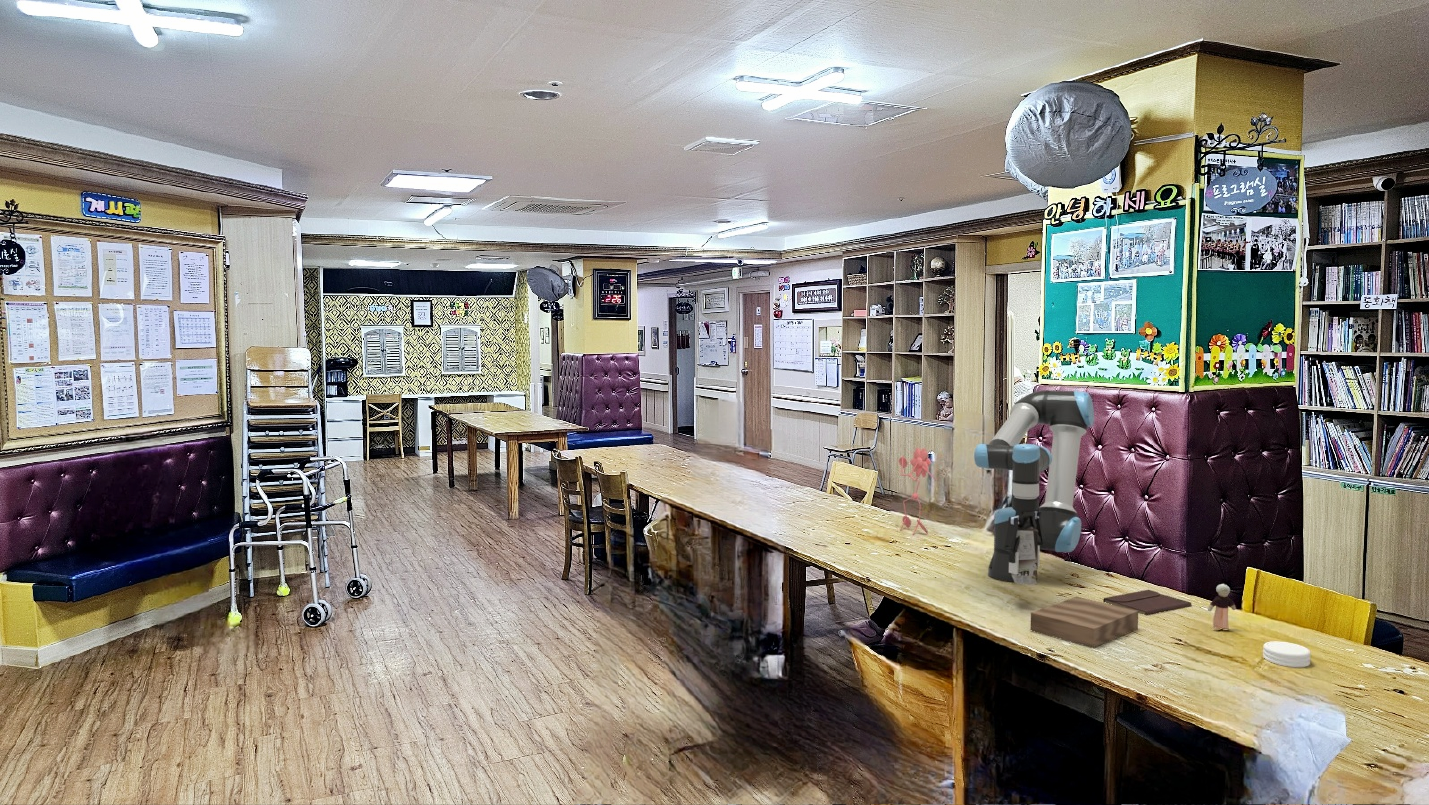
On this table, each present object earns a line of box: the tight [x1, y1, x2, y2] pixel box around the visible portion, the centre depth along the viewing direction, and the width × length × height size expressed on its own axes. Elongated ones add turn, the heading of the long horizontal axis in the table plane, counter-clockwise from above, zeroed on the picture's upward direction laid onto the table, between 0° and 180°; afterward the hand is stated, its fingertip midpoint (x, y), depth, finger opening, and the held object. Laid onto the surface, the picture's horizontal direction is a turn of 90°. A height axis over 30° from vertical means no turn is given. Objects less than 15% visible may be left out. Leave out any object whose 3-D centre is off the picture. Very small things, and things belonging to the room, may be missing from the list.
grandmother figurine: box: [1207, 583, 1237, 631], centre depth 247 cm, size 8×4×13 cm, turn 105°
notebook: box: [1102, 589, 1192, 616], centre depth 271 cm, size 15×20×2 cm
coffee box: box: [1012, 526, 1038, 586], centre depth 269 cm, size 9×6×16 cm
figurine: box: [898, 446, 938, 536], centre depth 373 cm, size 15×26×35 cm, turn 22°
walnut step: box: [1029, 596, 1139, 649], centre depth 247 cm, size 24×18×5 cm
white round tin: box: [1262, 640, 1312, 668], centre depth 224 cm, size 10×10×4 cm
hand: (1024, 569), depth 269 cm, fingers closed on coffee box, 11 cm apart
